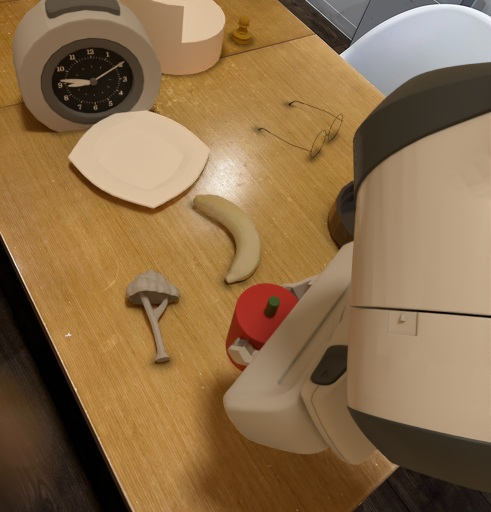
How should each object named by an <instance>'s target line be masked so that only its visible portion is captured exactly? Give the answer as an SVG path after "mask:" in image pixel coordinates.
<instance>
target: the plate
mask: <svg viewBox="0 0 491 512" xmlns="http://www.w3.org/2000/svg"><path fill="white" fill-rule="evenodd" d="M211 151H212V149H210V148H209V146H207V145H206V143H204V142H203V141H202V140H201V139H200V138H199V137H198V136H197V135H196V134H195V133H193V132H192V131H191V130H190V129H188V128H187V127H185V126H184V125H182V124H181V123H179V122H178V121H175V120H174V119H172V118H169V117H167V116H164V115H162V114H160V113H159V114H158V113H156V112H153V111H150V110H149V111H147V110H146V111H136V112H124V113H115V114H113V115H111V116H109V117H107V118H105V119H103V120H101V121H99V122H98V123H96V124H95V125H93V126H92V127H91V128H89V129H87V130H86V131H85V132H84V134H82V136H81V137H80V138H79V140H78V141H77V143H75V145H74V147H73V148H72V150H71V151H70V153H69V155H68V156H67V159H68V160H69V161H70V162H71V164H72V165H73V166H74V167H75V168H76V169H77V170H78V172H80V173H81V174H82V175H83V177H85V178H86V180H87V181H89V182H90V183H91V184H92V185H94V186H95V187H97V188H98V189H100V190H101V191H103V192H105V193H107V194H109V195H111V196H113V197H115V198H118V199H121V200H123V201H126V202H129V203H132V204H136V205H138V206H143V207H145V208H150V209H153V210H154V209H155V208H157V207H159V206H162V205H163V204H166V203H167V202H169V201H171V200H172V199H174V198H176V197H178V196H179V195H180V194H182V193H184V192H185V191H186V190H187V189H188V188H190V187H191V186H192V185H193V184H194V183H195V182H196V180H197V179H198V178H199V177H200V175H201V174H202V172H203V170H204V168H205V166H206V164H207V161H208V159H209V157H210V154H211Z"/></svg>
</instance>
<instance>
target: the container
mask: <svg viewBox="0 0 491 512" xmlns="http://www.w3.org/2000/svg"><path fill="white" fill-rule="evenodd" d="M118 1H120V2H121V3H123V4H124V5H125V6H127V7H128V8H130V9H131V10H132V11H133V13H134V14H135V15H136V16H137V17H138V19H139V20H140V21H141V22H142V24H143V26H144V28H145V30H146V33H147V35H148V37H149V39H150V41H151V43H152V46H153V48H154V50H155V52H156V54H157V57H158V59H159V61H160V65H161V73H162V74H164V75H172V76H174V75H175V76H187V75H194V74H198V73H201V72H205V71H207V70H209V69H210V68H212V67H214V66H215V65H216V63H218V61H220V58H221V54H222V50H223V44H224V43H223V42H224V35H225V29H226V15H225V13H224V11H223V10H222V8H221V6H220V5H219V4H217V3H216V2H215V0H118Z"/></svg>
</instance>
